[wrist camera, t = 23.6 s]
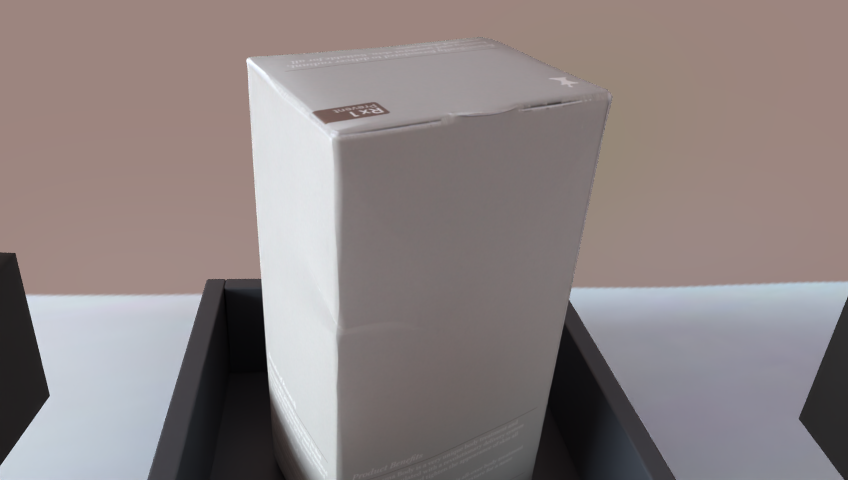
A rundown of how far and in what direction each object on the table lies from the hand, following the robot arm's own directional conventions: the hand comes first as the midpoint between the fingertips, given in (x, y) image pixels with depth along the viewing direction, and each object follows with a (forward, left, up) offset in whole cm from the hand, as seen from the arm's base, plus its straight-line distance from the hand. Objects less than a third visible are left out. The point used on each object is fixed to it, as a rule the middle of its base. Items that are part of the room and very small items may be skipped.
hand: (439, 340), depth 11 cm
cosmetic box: (+6, -7, -14) cm, 17 cm away
